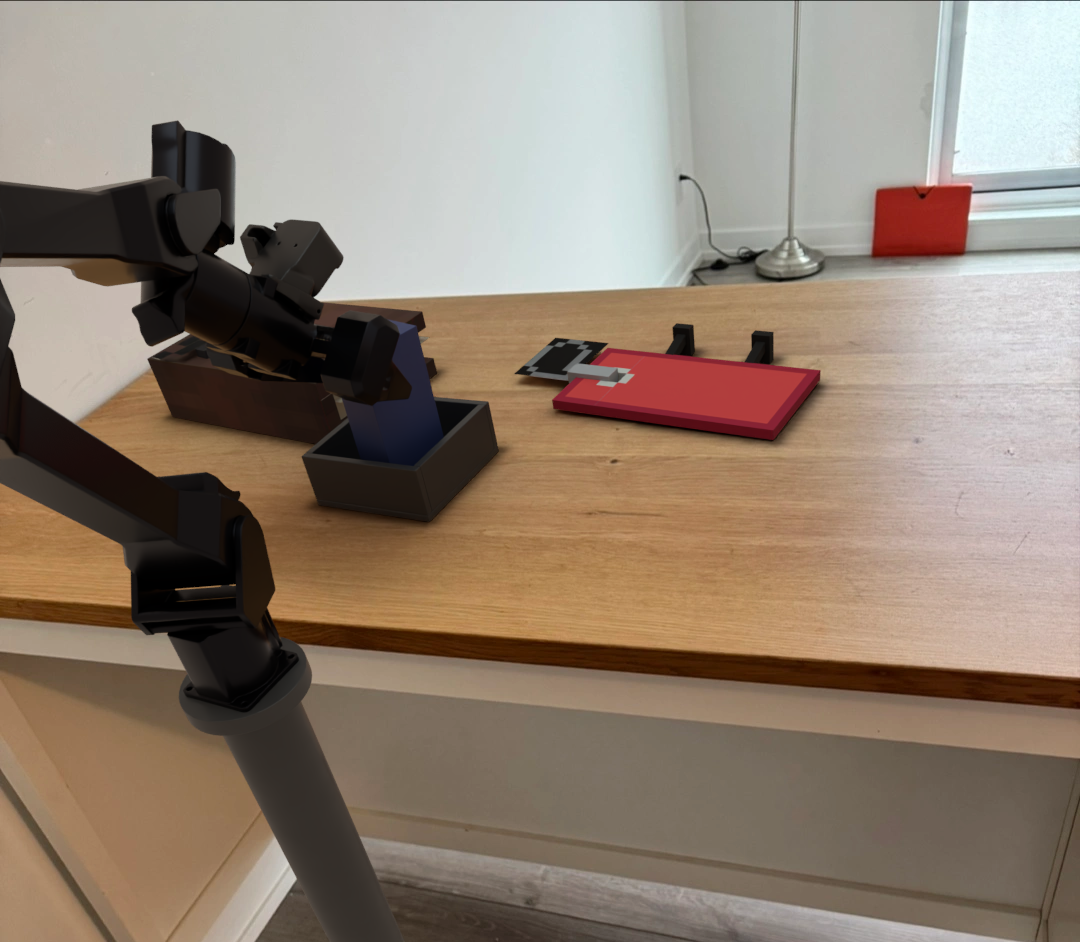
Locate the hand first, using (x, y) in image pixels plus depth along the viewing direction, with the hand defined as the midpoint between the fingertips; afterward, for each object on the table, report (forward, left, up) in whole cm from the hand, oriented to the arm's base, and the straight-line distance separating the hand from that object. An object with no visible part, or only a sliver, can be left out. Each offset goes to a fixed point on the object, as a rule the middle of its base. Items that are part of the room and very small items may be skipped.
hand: (371, 384), depth 87 cm
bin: (+1, 0, -10) cm, 10 cm away
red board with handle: (+22, -16, -10) cm, 29 cm away
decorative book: (+14, +23, -10) cm, 29 cm away
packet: (+1, -1, -9) cm, 9 cm away
